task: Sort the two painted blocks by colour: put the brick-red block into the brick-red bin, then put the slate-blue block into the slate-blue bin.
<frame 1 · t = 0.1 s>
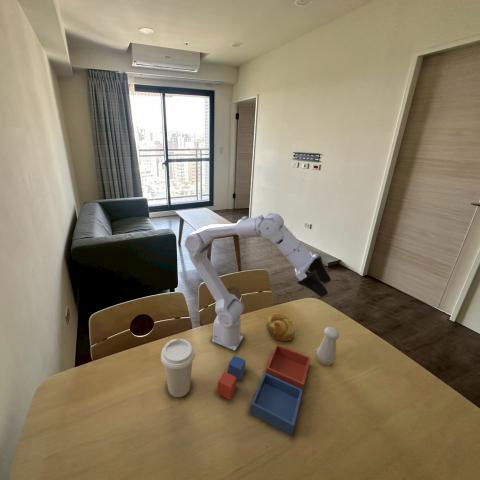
hand: (326, 288, 69), 32 cm above the table, tool tilted 50°, fingers open, 7 cm apart
salt shaker: (324, 361, 85), on the table
red block: (226, 391, 75), on the table
coffee cup: (179, 387, 76), on the table
bread roll: (279, 331, 98), on the table
red bin: (287, 371, 81), on the table
blue block: (236, 373, 80), on the table
blue bin: (276, 406, 71), on the table
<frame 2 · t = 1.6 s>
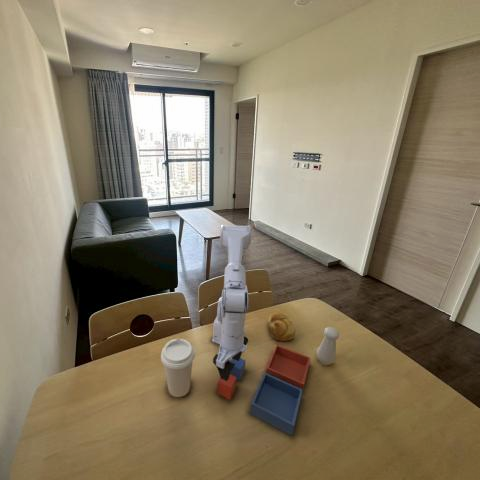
hand: (230, 368, 71), 10 cm above the table, tool pointing down, fingers open, 7 cm apart
nothing on the table moved.
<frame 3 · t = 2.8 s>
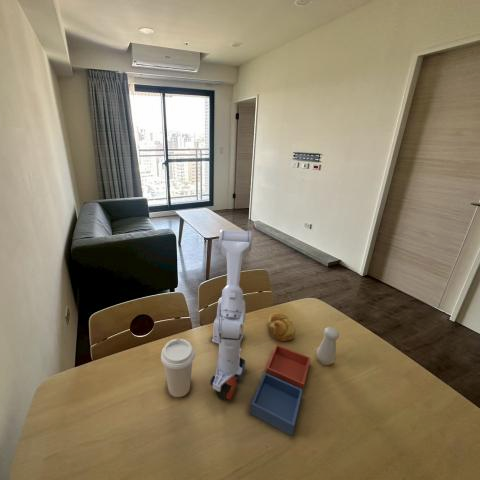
hand: (226, 387, 74), 1 cm above the table, tool pointing down, fingers open, 7 cm apart
blue block: (236, 373, 80), on the table, touching gripper
everything else where it was.
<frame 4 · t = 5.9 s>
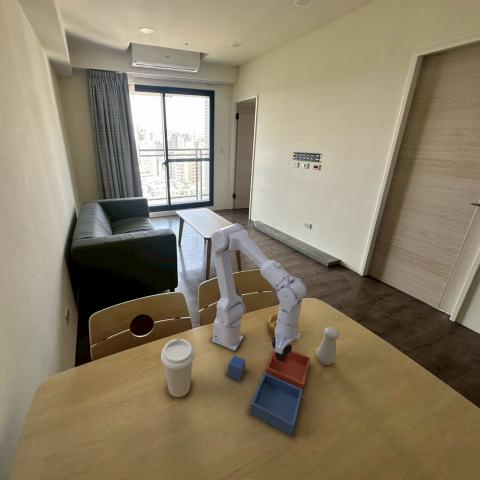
hand: (282, 354, 77), 8 cm above the table, tool pointing down, fingers closed on red block, 4 cm apart
red block: (281, 358, 77), point 7 cm above the table, touching gripper
blue block: (236, 373, 80), on the table
everything else where it was.
when the fingers open (2 cm above the table, at t = 8.2 s): red block stays where it is, resting on red bin.
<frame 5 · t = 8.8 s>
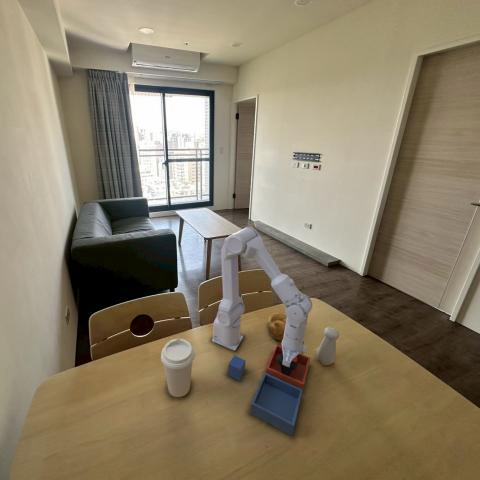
hand: (288, 366, 80), 2 cm above the table, tool pointing down, fingers open, 7 cm apart
red block: (287, 370, 81), resting on red bin
everything else where it was.
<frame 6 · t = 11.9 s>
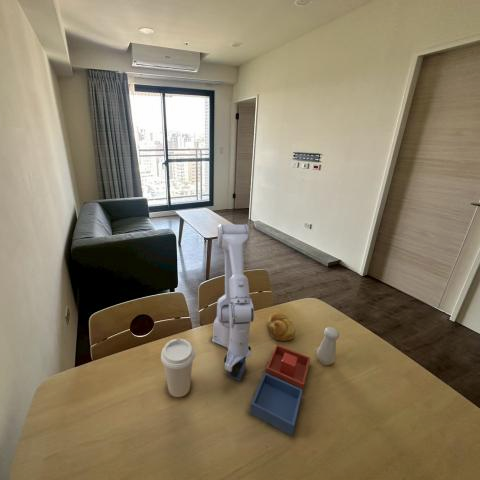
hand: (236, 370, 80), 1 cm above the table, tool pointing down, fingers closed on blue block, 4 cm apart
blue block: (236, 373, 80), on the table, touching gripper
everything else where it was.
when the fingers open (2 cm above the table, at t = 16.3 s): blue block stays where it is, resting on blue bin.
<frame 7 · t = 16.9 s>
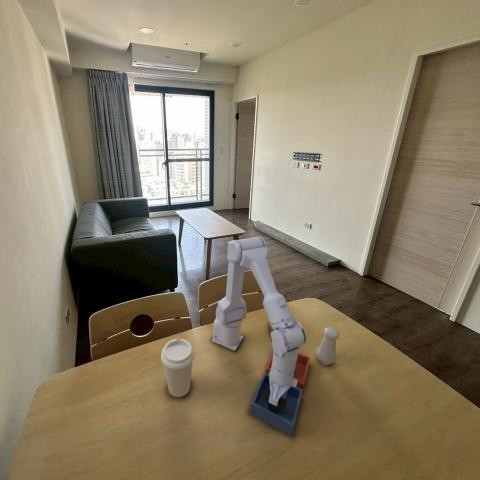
hand: (277, 400, 70), 3 cm above the table, tool pointing down, fingers open, 7 cm apart
blue block: (276, 404, 70), resting on blue bin
everything else where it was.
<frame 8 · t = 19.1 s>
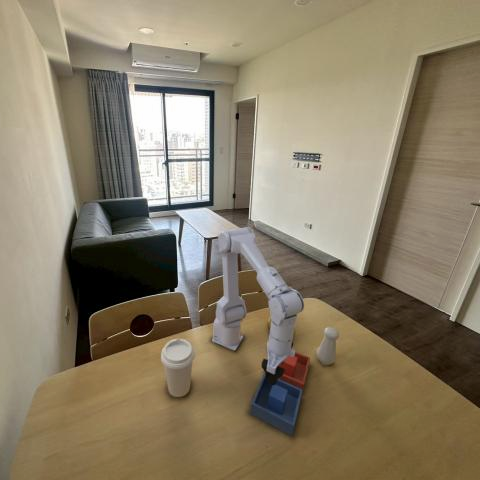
hand: (275, 372, 69), 10 cm above the table, tool pointing down, fingers open, 7 cm apart
nothing on the table moved.
at the end: red block inside the target area in the red bin (0.1 cm from its centre), point 0.5 cm above the red bin's base; blue block inside the target area in the blue bin (0.0 cm from its centre), point 0.5 cm above the blue bin's base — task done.
